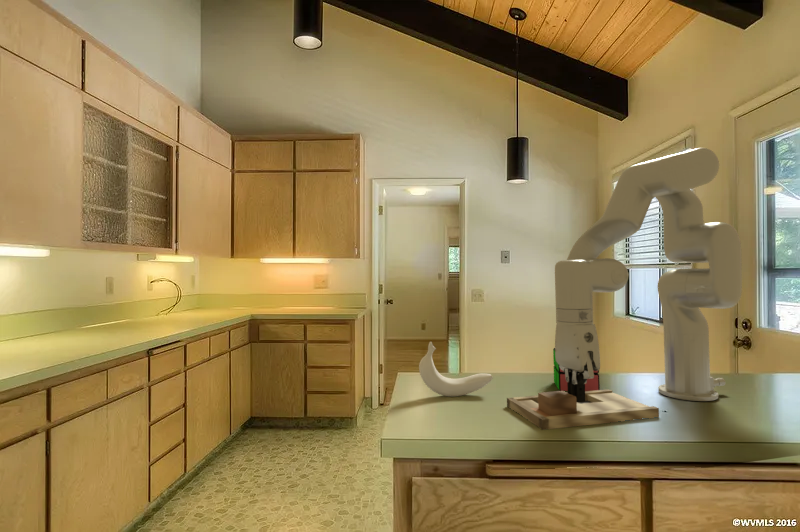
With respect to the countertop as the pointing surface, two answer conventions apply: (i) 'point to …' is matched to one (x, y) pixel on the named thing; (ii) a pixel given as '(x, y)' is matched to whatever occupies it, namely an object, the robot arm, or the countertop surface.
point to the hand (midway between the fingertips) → (576, 401)
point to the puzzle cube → (562, 383)
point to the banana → (447, 384)
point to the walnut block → (557, 403)
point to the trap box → (584, 410)
